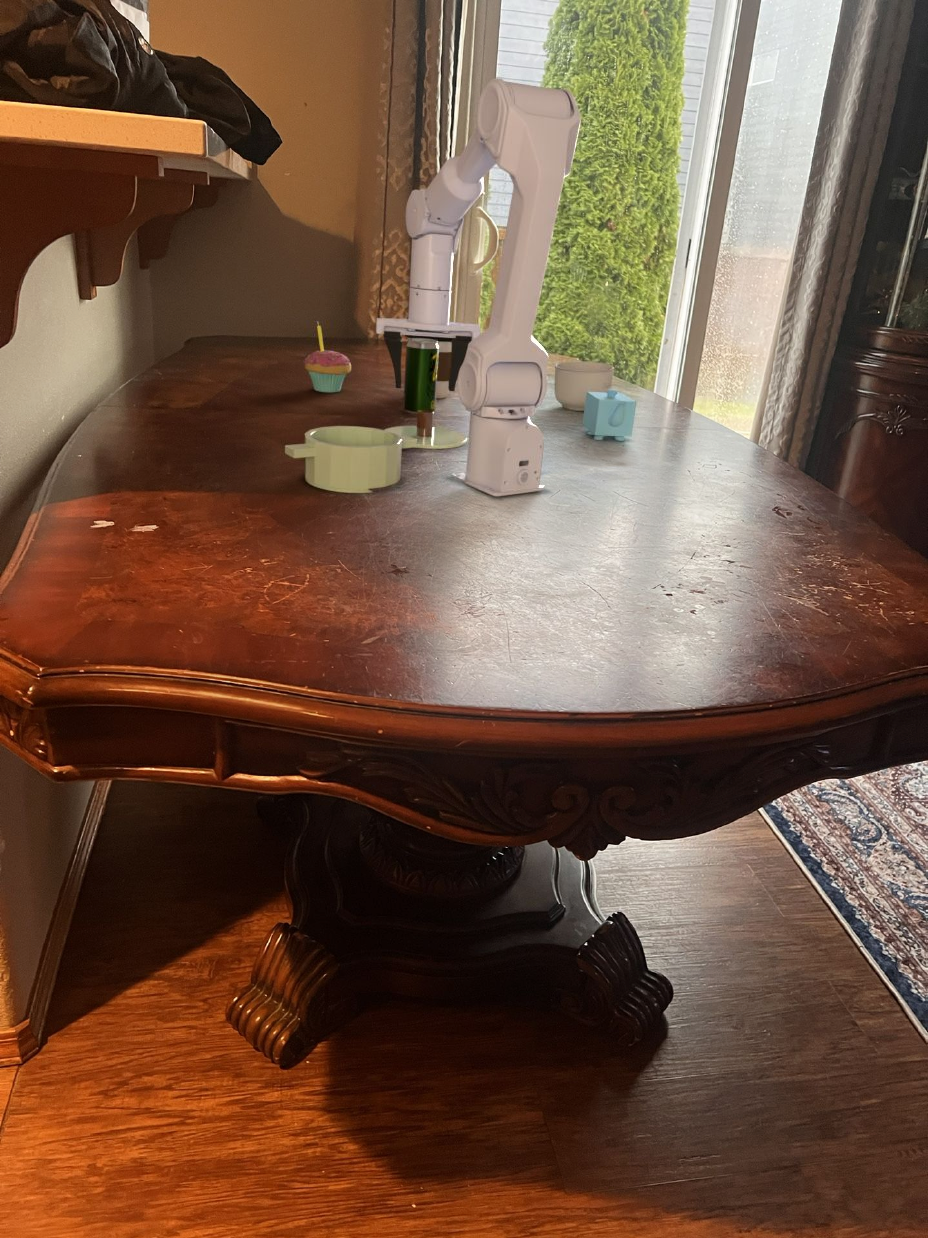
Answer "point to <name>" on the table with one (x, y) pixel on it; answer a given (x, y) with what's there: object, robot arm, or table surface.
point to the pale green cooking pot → (351, 457)
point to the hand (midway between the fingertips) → (424, 388)
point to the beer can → (420, 374)
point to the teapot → (609, 414)
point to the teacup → (580, 382)
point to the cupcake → (327, 368)
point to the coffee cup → (440, 361)
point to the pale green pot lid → (430, 433)
